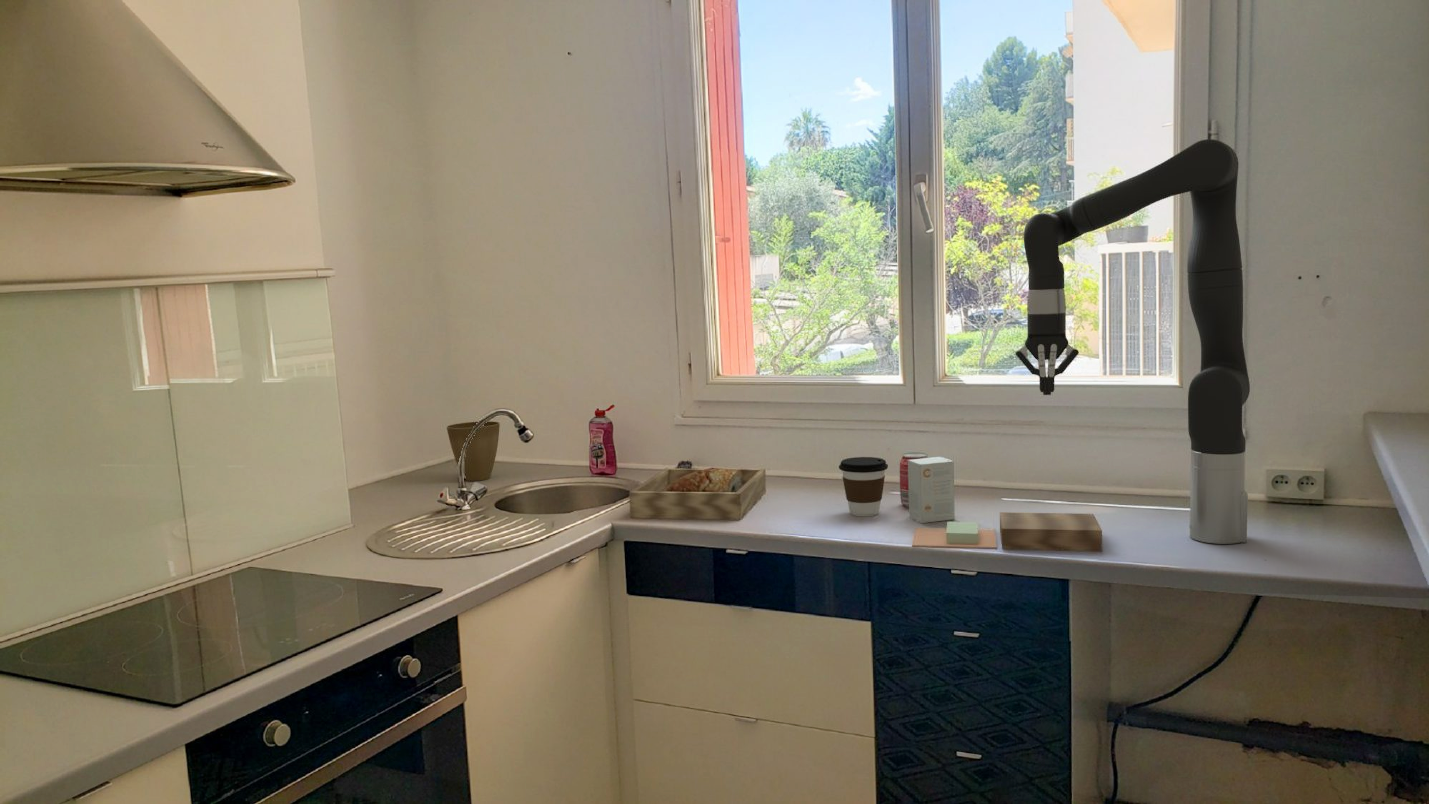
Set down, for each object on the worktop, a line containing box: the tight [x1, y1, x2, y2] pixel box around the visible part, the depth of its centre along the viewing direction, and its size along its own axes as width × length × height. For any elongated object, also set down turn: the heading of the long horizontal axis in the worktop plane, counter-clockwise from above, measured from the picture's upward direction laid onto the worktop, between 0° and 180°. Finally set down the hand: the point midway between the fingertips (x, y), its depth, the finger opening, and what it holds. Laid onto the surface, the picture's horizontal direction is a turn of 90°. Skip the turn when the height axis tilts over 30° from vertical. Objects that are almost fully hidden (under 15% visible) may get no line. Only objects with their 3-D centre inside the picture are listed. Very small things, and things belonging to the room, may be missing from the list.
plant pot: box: [446, 420, 501, 482], centre depth 281 cm, size 15×15×16 cm
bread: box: [663, 467, 743, 492], centre depth 233 cm, size 20×18×10 cm
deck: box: [999, 511, 1103, 552], centre depth 191 cm, size 18×13×4 cm
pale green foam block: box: [946, 521, 979, 544], centre depth 195 cm, size 6×9×2 cm, turn 165°
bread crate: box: [628, 468, 767, 521], centre depth 236 cm, size 26×28×6 cm
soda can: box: [899, 451, 929, 508], centre depth 224 cm, size 7×7×12 cm
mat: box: [911, 528, 997, 550], centre depth 196 cm, size 16×13×1 cm
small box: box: [908, 456, 956, 524], centre depth 212 cm, size 8×6×13 cm
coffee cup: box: [838, 456, 889, 517], centre depth 220 cm, size 11×11×12 cm
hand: (1046, 394), depth 203 cm, fingers closed
